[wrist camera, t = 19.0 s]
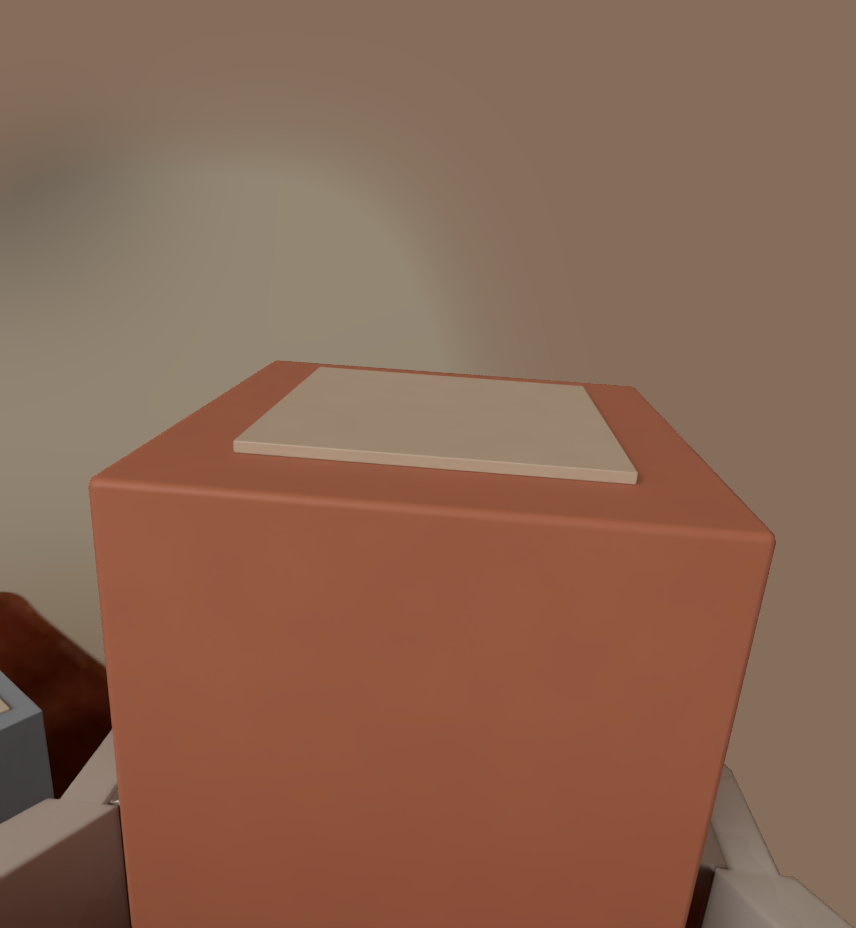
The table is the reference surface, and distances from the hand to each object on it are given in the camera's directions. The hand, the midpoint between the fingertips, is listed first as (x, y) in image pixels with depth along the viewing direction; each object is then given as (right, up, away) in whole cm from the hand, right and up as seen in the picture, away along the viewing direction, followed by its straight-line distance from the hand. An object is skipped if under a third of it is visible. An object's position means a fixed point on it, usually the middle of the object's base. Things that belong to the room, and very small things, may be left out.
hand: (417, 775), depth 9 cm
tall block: (0, -7, +1) cm, 7 cm away
